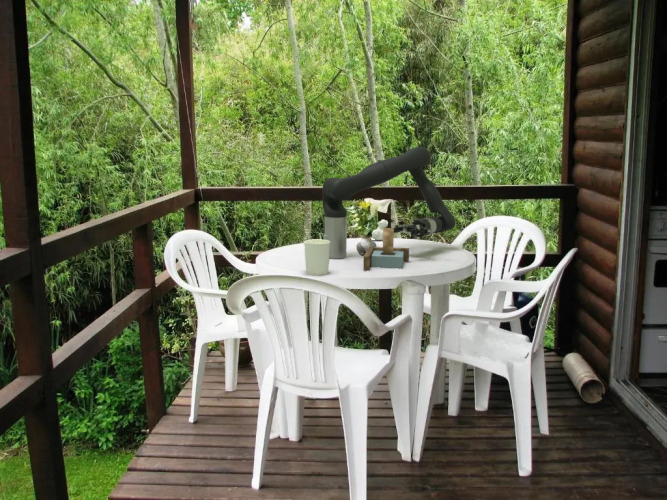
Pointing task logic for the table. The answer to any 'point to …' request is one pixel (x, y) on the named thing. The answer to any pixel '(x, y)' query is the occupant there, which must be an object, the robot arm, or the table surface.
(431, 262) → the table surface
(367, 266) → the backstop fence
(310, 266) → the candle holder
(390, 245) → the oak dowel
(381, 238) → the duck figurine
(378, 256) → the socket block
